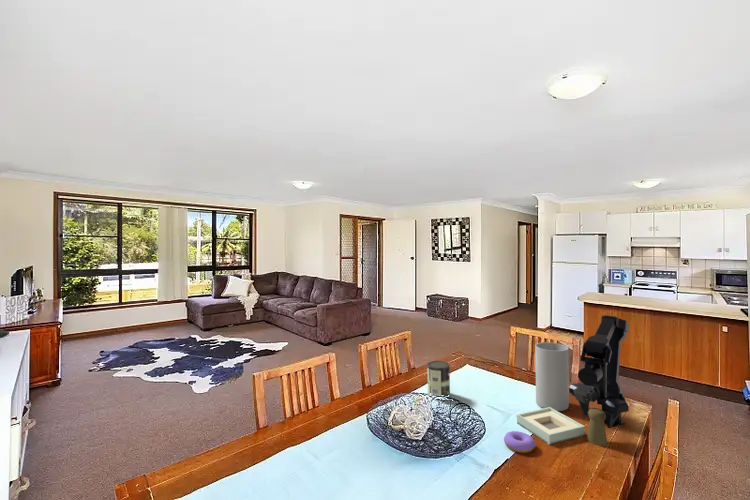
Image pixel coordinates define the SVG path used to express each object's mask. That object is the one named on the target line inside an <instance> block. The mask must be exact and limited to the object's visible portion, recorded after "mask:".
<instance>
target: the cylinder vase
mask: <svg viewBox="0 0 750 500" xmlns="http://www.w3.org/2000/svg"><path fill="white" fill-rule="evenodd" d="M534 348H535V349H534V350H535V351H534V352H535V402H536V405H538V406H539V407H541V409H544V408H548V407H551V408H552V409H554V410H556V411H558V412H564V411H567V410H568V409H569V407H570V405H569V404H570V402H569V400H570V394H569V393H570V392H569V386H570V384H569V383H570V382H569V379H570V378H569V377H570V375H569V371H570V369H569V346H567V345H565V344H562V343H558V342H550V341H549V342H547V341H546V342H544V341H543V342H538V343H536V344H535V347H534Z"/></svg>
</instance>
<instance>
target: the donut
mask: <svg viewBox="0 0 750 500" xmlns="http://www.w3.org/2000/svg"><path fill="white" fill-rule="evenodd" d="M503 442H504V444H505V446H506V447H507V448H508V449H509V450H511V451H513V452H515V453H520V454H521V453H522V454H527V453H530V452H533V450H534V449H535V448H536V442H535V440H534V438H533V437H532V436H531V435H530V434H528V433H525V432H522V431H518V430H517V431H515V430H512V431H508V432H506V434H505V435H504V438H503Z"/></svg>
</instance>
